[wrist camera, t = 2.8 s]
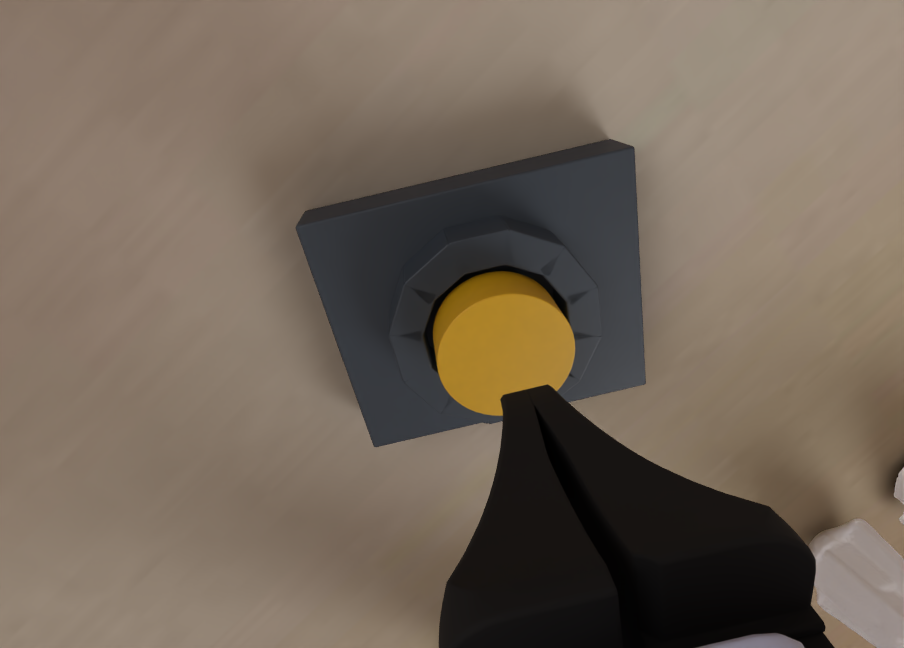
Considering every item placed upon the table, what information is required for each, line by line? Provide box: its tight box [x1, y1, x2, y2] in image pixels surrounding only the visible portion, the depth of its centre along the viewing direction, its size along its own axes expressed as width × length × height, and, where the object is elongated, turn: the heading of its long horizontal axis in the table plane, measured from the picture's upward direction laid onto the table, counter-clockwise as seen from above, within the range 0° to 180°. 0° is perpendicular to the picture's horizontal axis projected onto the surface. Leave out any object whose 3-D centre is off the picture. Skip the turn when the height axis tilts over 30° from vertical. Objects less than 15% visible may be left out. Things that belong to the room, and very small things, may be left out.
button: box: [433, 271, 575, 416], centre depth 18 cm, size 5×5×2 cm
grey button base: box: [296, 139, 646, 447], centre depth 20 cm, size 12×10×4 cm
